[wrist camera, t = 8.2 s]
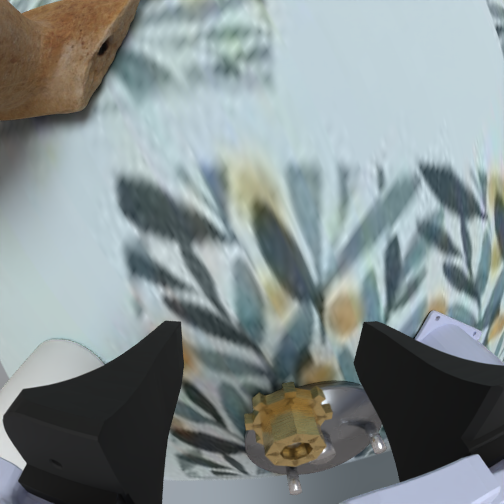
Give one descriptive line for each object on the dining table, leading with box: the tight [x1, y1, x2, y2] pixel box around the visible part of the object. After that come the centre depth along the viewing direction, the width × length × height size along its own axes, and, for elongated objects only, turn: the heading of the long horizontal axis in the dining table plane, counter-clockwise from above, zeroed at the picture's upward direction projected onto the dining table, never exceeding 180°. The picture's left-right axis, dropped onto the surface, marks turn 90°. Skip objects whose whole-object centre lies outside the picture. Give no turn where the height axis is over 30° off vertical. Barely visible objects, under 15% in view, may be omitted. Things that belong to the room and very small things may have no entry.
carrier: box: [245, 381, 387, 495], centre depth 24 cm, size 14×14×5 cm
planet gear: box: [244, 382, 333, 467], centre depth 21 cm, size 7×7×4 cm
